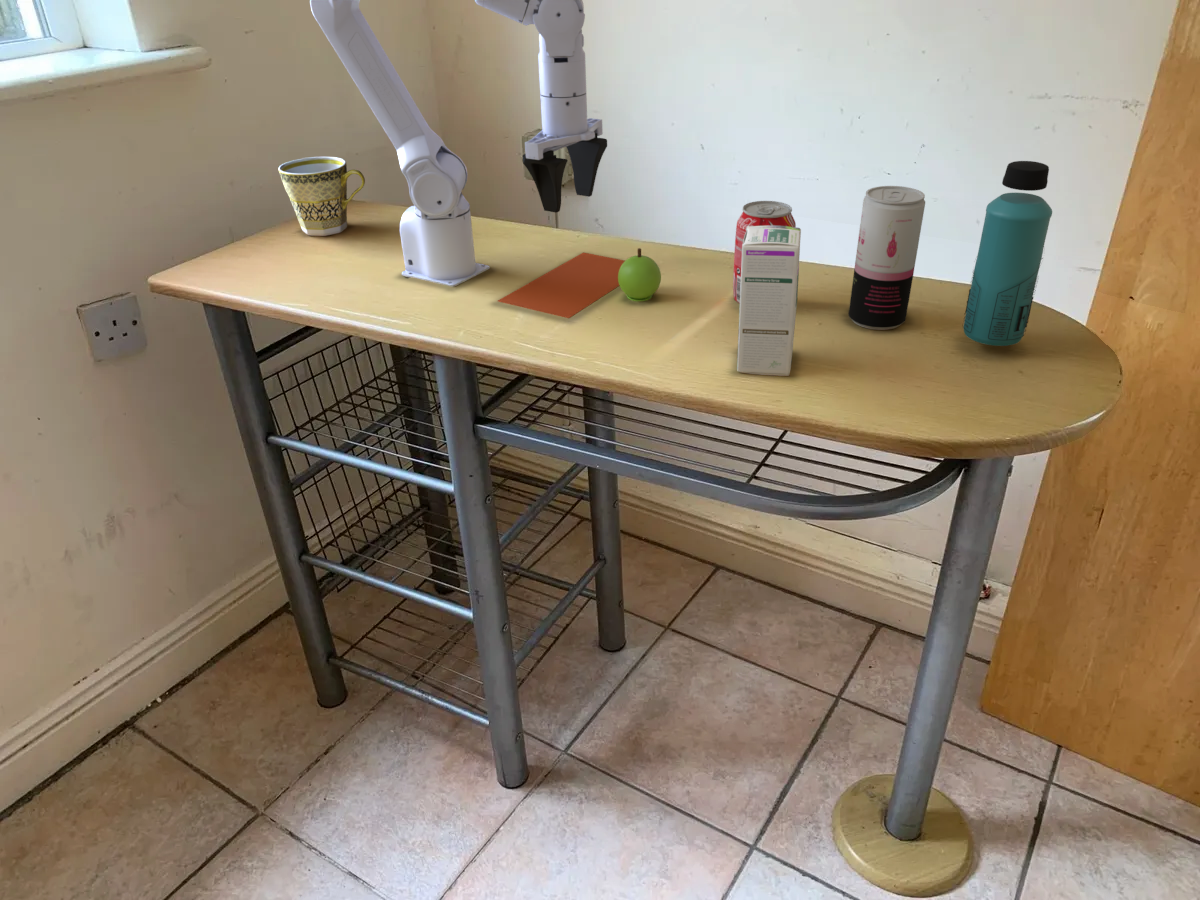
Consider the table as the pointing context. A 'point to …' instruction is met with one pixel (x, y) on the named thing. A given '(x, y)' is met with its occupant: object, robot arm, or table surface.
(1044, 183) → the beverage bottle
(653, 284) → the apple
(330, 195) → the ceramic cup
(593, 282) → the cloth
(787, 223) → the soda can
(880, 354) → the table surface
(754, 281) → the syrup box
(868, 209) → the beverage can
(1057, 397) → the table surface
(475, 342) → the table surface
